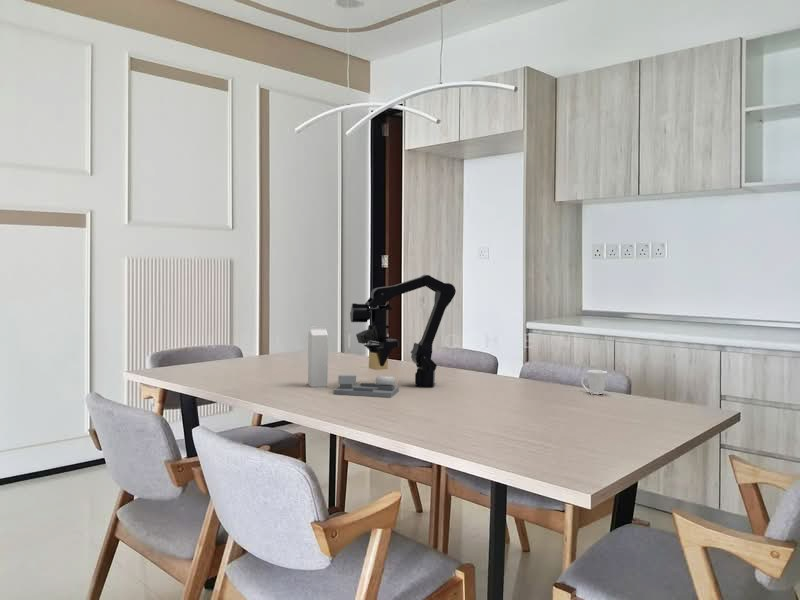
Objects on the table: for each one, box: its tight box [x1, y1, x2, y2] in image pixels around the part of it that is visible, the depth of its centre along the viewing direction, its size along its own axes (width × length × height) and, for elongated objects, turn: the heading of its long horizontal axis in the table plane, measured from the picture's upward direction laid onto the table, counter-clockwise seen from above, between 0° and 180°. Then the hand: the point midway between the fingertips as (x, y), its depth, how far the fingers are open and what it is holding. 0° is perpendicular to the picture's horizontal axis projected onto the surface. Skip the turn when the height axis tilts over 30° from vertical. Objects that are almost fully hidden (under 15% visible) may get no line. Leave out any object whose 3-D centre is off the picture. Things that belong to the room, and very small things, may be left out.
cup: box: [580, 369, 609, 395], centre depth 228 cm, size 7×10×8 cm
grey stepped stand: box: [333, 374, 400, 399], centre depth 222 cm, size 20×12×6 cm, turn 77°
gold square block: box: [368, 351, 389, 371], centre depth 233 cm, size 5×5×6 cm
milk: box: [307, 325, 329, 388], centre depth 234 cm, size 6×6×22 cm
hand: (378, 365), depth 233 cm, fingers closed on gold square block, 5 cm apart
